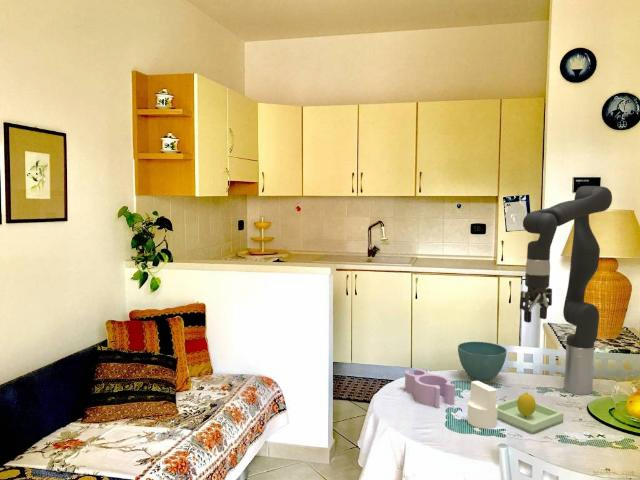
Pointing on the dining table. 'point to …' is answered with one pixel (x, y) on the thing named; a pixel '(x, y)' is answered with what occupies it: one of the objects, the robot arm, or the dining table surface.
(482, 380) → the teal bowl
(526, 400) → the lemon
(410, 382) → the clip
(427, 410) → the dining table surface
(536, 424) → the tray
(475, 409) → the base with upright slab
